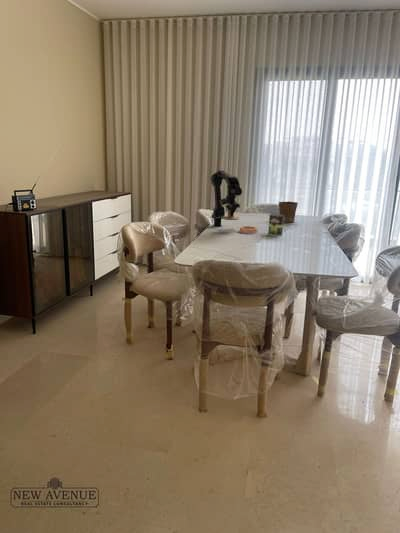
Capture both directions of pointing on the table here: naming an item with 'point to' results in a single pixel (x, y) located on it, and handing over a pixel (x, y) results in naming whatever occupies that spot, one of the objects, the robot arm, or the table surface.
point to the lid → (230, 217)
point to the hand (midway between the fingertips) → (230, 215)
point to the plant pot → (288, 211)
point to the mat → (227, 230)
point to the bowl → (248, 229)
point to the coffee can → (276, 224)
